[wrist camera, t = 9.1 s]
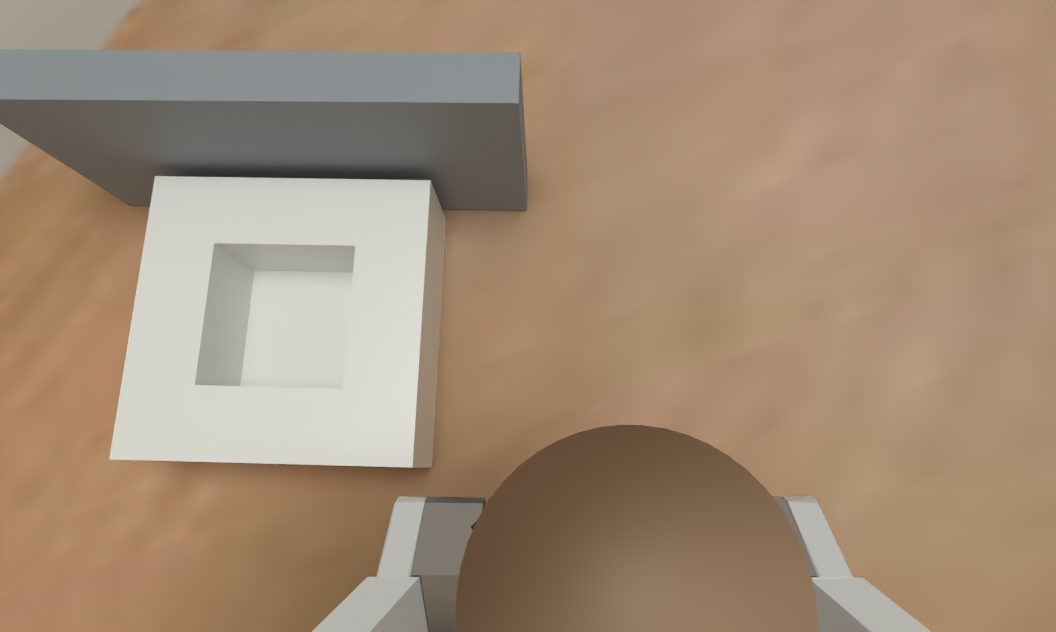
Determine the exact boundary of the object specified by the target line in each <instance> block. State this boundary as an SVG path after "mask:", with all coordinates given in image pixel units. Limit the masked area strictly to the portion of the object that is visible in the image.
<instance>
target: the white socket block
mask: <svg viewBox="0 0 1056 632" xmlns="http://www.w3.org/2000/svg"><path fill="white" fill-rule="evenodd" d="M445 233H446V218H445V215H444V213H443V210H442V208H441V205H440V203H439V200H438V198H437V195H436V193H435V190H434V188H433V185H432V183H431V180H382V179H315V178H248V177H181V176H155V179H154V185H153V191H152V197H151V204H150V210H149V216H148V222H147V228H146V235H145V241H144V247H143V253H142V260H141V266H140V272H139V278H138V284H137V291H136V297H135V303H134V309H133V315H132V322H131V328H130V334H129V340H128V346H127V353H126V359H125V365H124V371H123V377H122V384H121V390H120V396H119V402H118V408H117V415H116V421H115V427H114V433H113V439H112V446H111V452H110V458H109V459H118V460H154V461H191V462H228V463H264V464H301V465H337V466H374V467H410V468H432V462H433V444H434V426H435V409H436V391H437V374H438V356H439V338H440V321H441V303H442V286H443V268H444V251H445Z"/></svg>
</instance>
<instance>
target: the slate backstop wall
mask: <svg viewBox="0 0 1056 632" xmlns="http://www.w3.org/2000/svg"><path fill="white" fill-rule="evenodd" d="M0 124H2V125H4V126H5V127H7V128H8V129H10V130H12V131H13V132H15V133H16V134H18V135H19V136H21V137H22V138H24V139H26V140H27V141H29V142H30V143H32V144H34V145H35V146H37V147H38V148H40V149H41V150H43V151H45V152H46V153H48V154H49V155H51V156H53V157H54V158H56V159H57V160H59V161H60V162H62V163H64V164H65V165H67V166H68V167H70V168H71V169H73V170H75V171H76V172H78V173H79V174H81V175H83V176H84V177H86V178H87V179H89V180H90V181H92V182H94V183H95V184H97V185H98V186H100V187H102V188H103V189H105V190H106V191H108V192H109V193H111V194H113V195H114V196H116V197H117V198H119V199H121V200H122V201H124V202H125V203H127V204H128V205H130V206H150V204H151V197H152V191H153V185H154V179H155V176H181V177H248V178H315V179H382V180H431V183H432V185H433V188H434V190H435V193H436V195H437V198H438V200H439V203H440V205H441V208H442V210H525V211H526V206H527V159H526V143H525V126H524V109H523V92H522V76H521V59H520V52H344V51H150V50H0Z"/></svg>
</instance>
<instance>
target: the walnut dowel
mask: <svg viewBox="0 0 1056 632" xmlns="http://www.w3.org/2000/svg"><path fill="white" fill-rule="evenodd" d="M456 624H457V632H818V619H817V606H816V596H815V591H814V586H813V581H812V576H811V572H810V569H809V566H808V563H807V560H806V557H805V554H804V551H803V548H802V546H801V544H800V542H799V540H798V538H797V536H796V533H795V531H794V529H793V527H792V525H791V524H790V522H789V521H788V519H787V517H786V516H785V514H784V512H783V511H782V509H781V508H780V506H779V505H778V503H777V502H776V501H775V500H774V499H773V497H772V496H771V495H770V494H769V492H768V491H767V490H766V489H765V487H764V486H763V485H762V484H761V483H760V482H759V481H758V480H757V479H756V478H755V477H754V476H753V475H752V474H751V473H749V472H748V471H747V470H746V469H745V468H744V467H742V466H741V465H740V464H738V463H737V462H736V461H735V460H733V459H732V458H731V457H729V456H728V455H726V454H724V453H723V452H721V451H719V450H718V449H716V448H714V447H713V446H711V445H709V444H707V443H705V442H702V441H700V440H698V439H695V438H693V437H691V436H688V435H686V434H682V433H679V432H675V431H672V430H668V429H664V428H657V427H650V426H644V425H617V426H608V427H599V428H595V429H591V430H587V431H583V432H579V433H576V434H574V435H571V436H569V437H566V438H564V439H561V440H559V441H556V442H555V443H553V444H551V445H549V446H548V447H546V448H544V449H542V450H541V451H539V452H537V453H536V454H534V455H533V456H532V457H530V458H529V459H528V460H527V461H525V462H524V463H523V464H521V465H520V466H519V467H518V468H517V469H516V470H515V471H514V472H513V473H512V474H511V475H510V476H509V477H508V478H507V479H506V480H505V481H504V482H503V483H502V484H501V485H500V487H499V488H498V489H497V490H496V492H495V493H494V494H493V496H492V497H491V498H490V499H489V501H488V503H487V504H486V506H485V508H484V509H483V511H482V513H481V514H480V516H479V518H478V519H477V522H476V524H475V526H474V528H473V531H472V533H471V535H470V538H469V540H468V542H467V546H466V549H465V553H464V556H463V559H462V563H461V567H460V573H459V579H458V585H457V596H456Z"/></svg>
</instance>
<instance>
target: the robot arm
mask: <svg viewBox="0 0 1056 632" xmlns="http://www.w3.org/2000/svg"><path fill="white" fill-rule="evenodd" d="M772 497H773V499H774V500H775V501H776V502H777V503H778V505H779V506H780V508H781V509H782V511H783V512H784V514H785V516H786V517H787V519H788V521H789V522H790V524H791V525H792V527H793V529H794V531H795V533H796V536H797V538H798V540H799V542H800V544H801V546H802V548H803V551H804V554H805V557H806V560H807V563H808V566H809V569H810V572H811V576H812V581H813V586H814V591H815V596H816V606H817V619H818V632H931V631H930V630H929V629H927V628H926V627H925V626H923V625H922V624H921V623H920V622H918V621H917V620H916V619H915V618H913V617H912V616H911V615H910V614H908V613H907V612H906V611H904V610H903V609H902V608H901V607H899V606H898V605H897V604H896V603H894V602H893V601H892V600H891V599H889V598H888V597H887V596H885V595H884V594H883V593H882V592H880V591H879V590H878V589H877V588H875V587H874V586H873V585H872V584H870V583H869V582H868V581H866V580H865V579H864V578H857V577H853V575H852V573H851V571H850V569H849V567H848V565H847V562H846V560H845V558H844V556H843V554H842V552H841V550H840V548H839V546H838V543H837V541H836V539H835V537H834V535H833V533H832V531H831V529H830V527H829V525H828V522H827V520H826V518H825V516H824V514H823V512H822V510H821V508H820V506H819V503H818V501H817V500H816V499H815V498H814V497H812V496H782V497H779V496H772ZM485 506H486V501H485V498H464V497H400V496H399V497H398V498H397V500H396V502H395V504H394V507H393V511H392V515H391V519H390V523H389V527H388V531H387V535H386V539H385V543H384V547H383V551H382V555H381V559H380V563H379V567H378V571H377V575H376V577H367V578H366V579H365V580H364V581H363V582H362V583H361V584H360V585H359V586H357V587H356V588H355V589H354V590H353V591H352V592H351V593H350V594H349V595H348V596H347V597H346V598H345V599H344V600H343V601H342V602H341V603H340V604H339V605H338V606H337V607H336V608H335V609H334V610H333V611H332V612H331V613H330V614H329V615H328V616H327V617H326V618H325V619H324V620H323V621H322V622H321V623H320V624H319V625H318V626H317V627H316V628H315V629H314V630H313V631H312V632H457V624H456V596H457V585H458V579H459V573H460V567H461V563H462V559H463V556H464V553H465V549H466V546H467V542H468V540H469V538H470V535H471V533H472V531H473V528H474V526H475V524H476V522H477V519H478V518H479V516H480V514H481V513H482V511H483V509H484V508H485Z"/></svg>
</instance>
